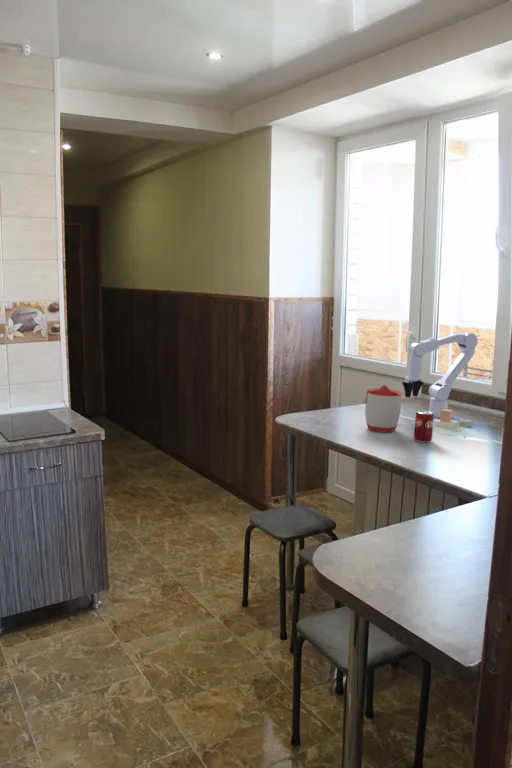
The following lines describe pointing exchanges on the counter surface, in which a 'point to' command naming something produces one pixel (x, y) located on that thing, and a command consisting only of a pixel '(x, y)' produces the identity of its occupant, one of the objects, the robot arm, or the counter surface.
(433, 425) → the baseplate
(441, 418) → the salmon pink block
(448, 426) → the cream square slab
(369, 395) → the citrus juicer
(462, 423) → the grey brick
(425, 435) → the soda can
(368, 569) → the counter surface
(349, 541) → the counter surface
